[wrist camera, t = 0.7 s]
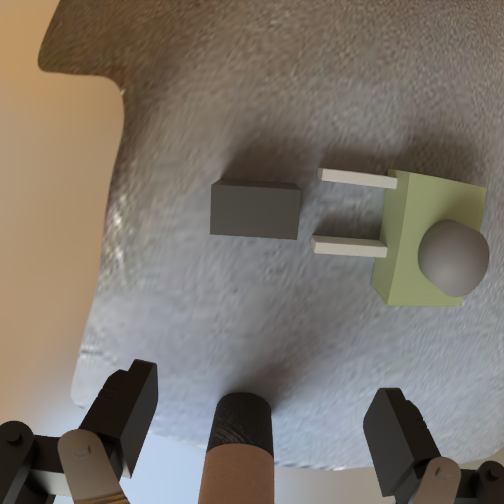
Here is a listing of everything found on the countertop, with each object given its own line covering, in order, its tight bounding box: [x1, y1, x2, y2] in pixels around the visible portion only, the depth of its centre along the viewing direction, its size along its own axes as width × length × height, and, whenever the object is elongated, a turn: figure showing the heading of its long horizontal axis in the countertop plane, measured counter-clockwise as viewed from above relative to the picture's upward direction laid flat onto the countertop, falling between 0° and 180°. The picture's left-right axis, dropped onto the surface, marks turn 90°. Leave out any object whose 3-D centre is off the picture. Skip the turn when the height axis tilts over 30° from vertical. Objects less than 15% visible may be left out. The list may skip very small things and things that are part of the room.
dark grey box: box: [210, 180, 302, 240], centre depth 27 cm, size 7×4×5 cm, turn 87°
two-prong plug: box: [311, 168, 489, 306], centre depth 26 cm, size 16×12×8 cm
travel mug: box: [198, 392, 274, 504], centre depth 28 cm, size 8×8×20 cm
